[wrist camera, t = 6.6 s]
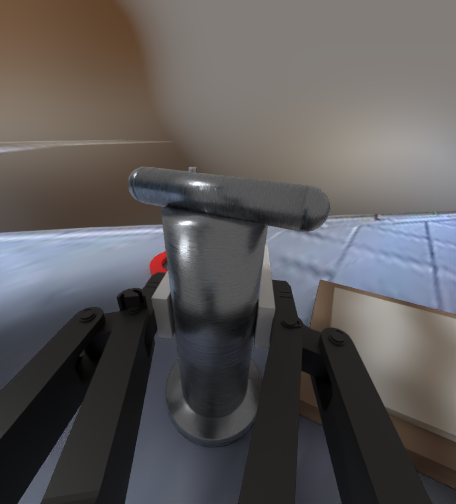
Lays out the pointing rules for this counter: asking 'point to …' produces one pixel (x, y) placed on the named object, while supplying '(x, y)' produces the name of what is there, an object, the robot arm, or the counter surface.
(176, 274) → the metal mooring bollard
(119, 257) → the counter surface
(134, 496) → the counter surface
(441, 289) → the counter surface
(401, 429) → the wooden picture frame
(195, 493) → the counter surface
